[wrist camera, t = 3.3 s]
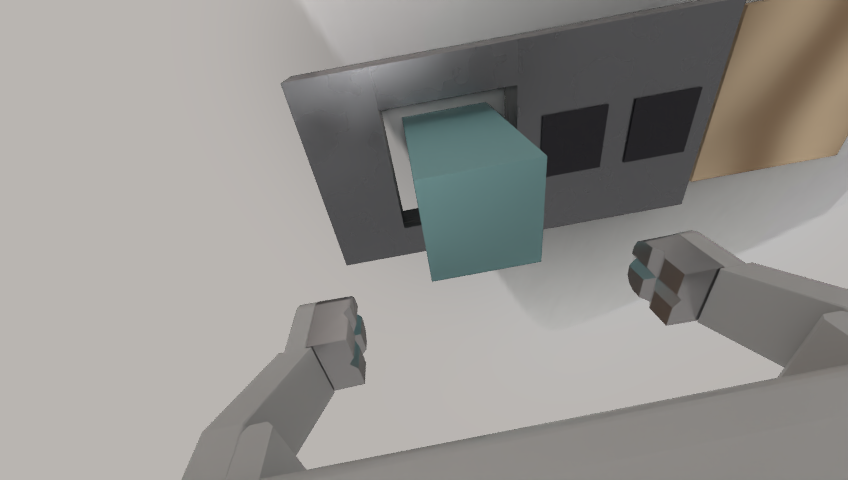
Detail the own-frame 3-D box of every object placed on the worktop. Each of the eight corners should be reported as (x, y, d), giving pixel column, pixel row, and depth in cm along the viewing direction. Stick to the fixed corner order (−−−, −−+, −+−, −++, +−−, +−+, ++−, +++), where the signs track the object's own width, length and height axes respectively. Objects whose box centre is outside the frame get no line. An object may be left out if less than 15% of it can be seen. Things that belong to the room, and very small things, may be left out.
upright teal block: (485, 102, 18) (547, 156, 11) (489, 179, 20) (541, 261, 13) (402, 117, 18) (413, 180, 11) (416, 192, 20) (432, 281, 13)
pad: (924, -30, 16) (941, -32, 16) (826, 151, 21) (836, 154, 21) (737, 5, 16) (748, 4, 16) (683, 177, 21) (691, 181, 21)
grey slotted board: (709, -2, 16) (749, -4, 14) (658, 189, 21) (682, 204, 20) (291, 76, 16) (279, 84, 14) (349, 246, 22) (346, 266, 20)
